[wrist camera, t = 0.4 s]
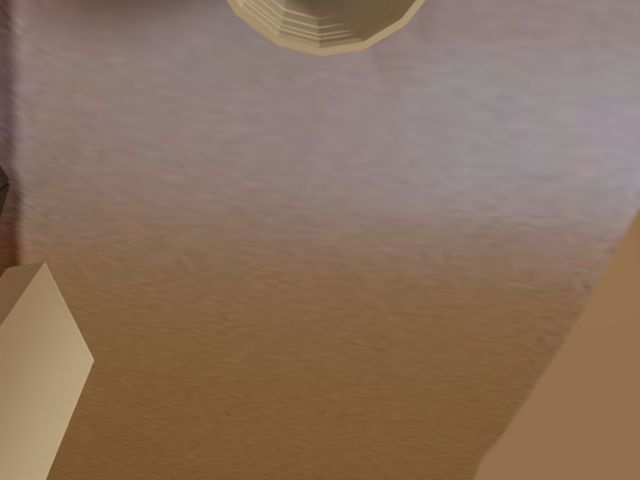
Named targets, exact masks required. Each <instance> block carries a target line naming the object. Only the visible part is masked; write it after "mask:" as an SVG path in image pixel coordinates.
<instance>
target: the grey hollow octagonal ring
mask: <svg viewBox="0 0 640 480" xmlns="http://www.w3.org/2000/svg"><path fill="white" fill-rule="evenodd" d="M8 180H9V179H8V177H7V176H6V174H5V173H4V171H3V170H2V168H1V167H0V216H1V213H2V209H3V206H4V202H5V199H6V196H7V192H8V189H9V186H10V184H9V183H6V182H7V181H8Z"/></svg>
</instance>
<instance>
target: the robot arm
mask: <svg viewBox="0 0 640 480" xmlns="http://www.w3.org/2000/svg"><path fill="white" fill-rule="evenodd" d="M93 362H94V359H93V357H92V355H91V353H90V351H89V349H88V347H87V345H86V343H85V341H84V339H83V337H82V335H81V333H80V331H79V329H78V327H77V325H76V323H75V321H74V319H73V317H72V315H71V313H70V311H69V309H68V307H67V305H66V303H65V301H64V299H63V297H62V295H61V293H60V291H59V289H58V287H57V285H56V283H55V281H54V279H53V277H52V275H51V273H50V271H49V269H48V267H47V265H46V263H45V262H39V263H33V264H28V265H22V266H17V267H11V268H8V269H7V270H6V271H5V272H4V274H3V275H2V276H1V277H0V480H46V478H47V475H48V473H49V470H50V468H51V465H52V463H53V460H54V458H55V455H56V453H57V450H58V448H59V446H60V443H61V441H62V438H63V436H64V433H65V431H66V428H67V426H68V423H69V421H70V418H71V416H72V413H73V411H74V409H75V406H76V404H77V401H78V399H79V396H80V394H81V391H82V389H83V386H84V384H85V381H86V379H87V376H88V374H89V372H90V369H91V367H92V364H93Z"/></svg>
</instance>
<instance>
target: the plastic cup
mask: <svg viewBox="0 0 640 480" xmlns="http://www.w3.org/2000/svg"><path fill="white" fill-rule="evenodd" d="M424 1H425V0H227V2H228V3H229V5H230V6H231V8H232V10H233V11H234V13H235V14H236V15H237V16H238V17H240V18H241V19H242V20H244V21H245V22H246V23H247V24H249V25H250V26H251V27H253V28H254V29H255V30H257V31H258V32H259V33H261V34H262V35H263V36H265V37H266V38H267V39H268V40H270V41H271V42H272V43H274V44H275V45H279V46H283V47H287V48H291V49H294V50H298V51H302V52H306V53H309V54H313V55H317V56H324V55H331V54H337V53H344V52H351V51H358V50H364V49H366V48H368V47H370V46H371V45H373V44H375V43H376V42H378V41H380V40H381V39H383V38H385V37H386V36H388V35H390V34H391V33H393V32H395V31H396V30H398V29H400V28H402V27H403V26H405V25H406V24H407V23H408V21H409V20H410V19H411V18H412V16H413V15H414V14H415V13H416V11H417V10H418V9H419V8H420V6H421V5H422V4H423V3H424Z"/></svg>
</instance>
